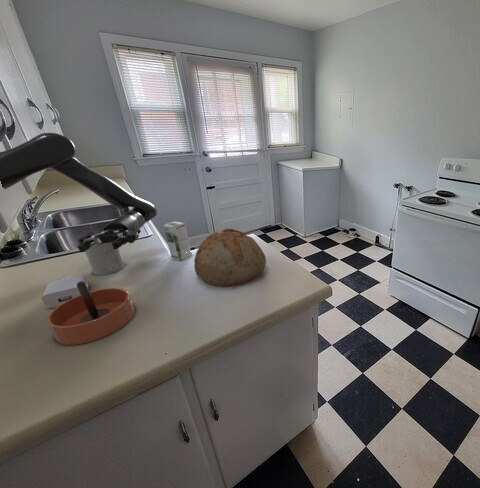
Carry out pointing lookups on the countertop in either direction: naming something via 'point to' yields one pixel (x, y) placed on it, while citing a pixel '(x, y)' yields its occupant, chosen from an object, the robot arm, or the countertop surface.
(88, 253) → the white cylinder
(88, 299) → the paper towel holder
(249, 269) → the bread
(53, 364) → the countertop surface
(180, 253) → the syrup box
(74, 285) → the white drawer box
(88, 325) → the bowl
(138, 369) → the countertop surface
